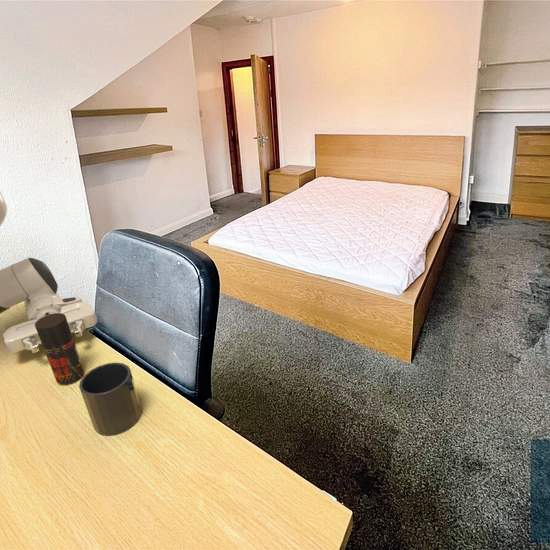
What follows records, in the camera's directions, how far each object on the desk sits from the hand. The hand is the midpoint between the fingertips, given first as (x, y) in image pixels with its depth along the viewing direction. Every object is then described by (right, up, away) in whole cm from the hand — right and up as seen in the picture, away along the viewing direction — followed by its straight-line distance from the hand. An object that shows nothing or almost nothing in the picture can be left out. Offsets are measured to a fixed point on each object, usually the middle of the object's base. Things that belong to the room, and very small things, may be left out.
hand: (57, 341), depth 95 cm
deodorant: (+4, -8, -2) cm, 9 cm away
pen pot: (+20, -13, -15) cm, 28 cm away
